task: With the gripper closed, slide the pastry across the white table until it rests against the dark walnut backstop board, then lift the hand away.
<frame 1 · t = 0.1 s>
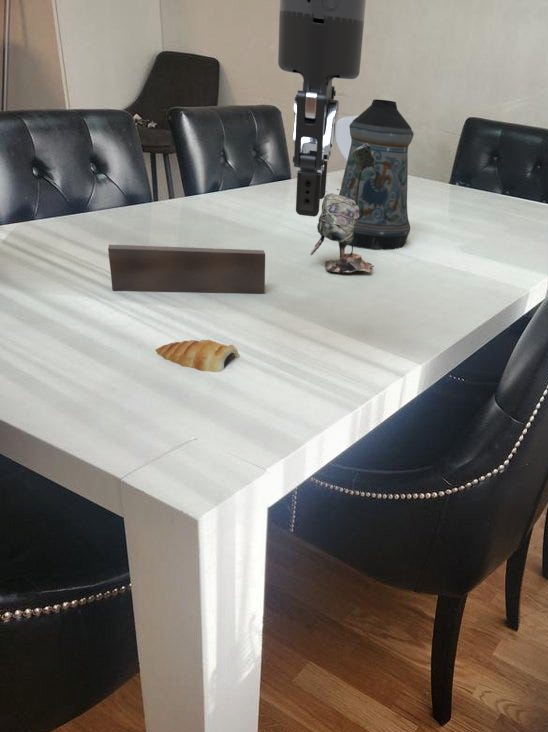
hand: (311, 206, 66), 19 cm above the table, tool pointing down, fingers open, 8 cm apart
bird figurine: (342, 270, 115), on the table
pastry: (200, 374, 74), on the table
backstop: (190, 290, 97), on the table
heart sculpture: (359, 193, 177), on the table
beer stein: (367, 238, 136), on the table
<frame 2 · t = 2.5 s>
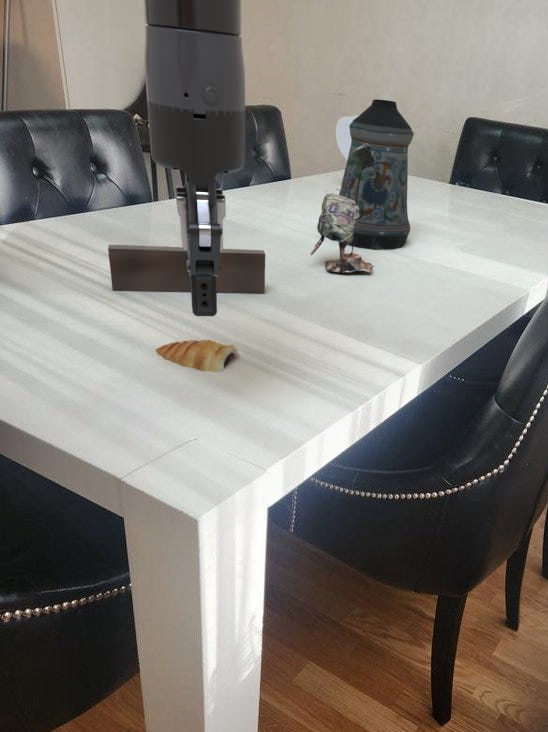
hand: (204, 313, 60), 11 cm above the table, tool pointing down, fingers closed
nothing on the table moved.
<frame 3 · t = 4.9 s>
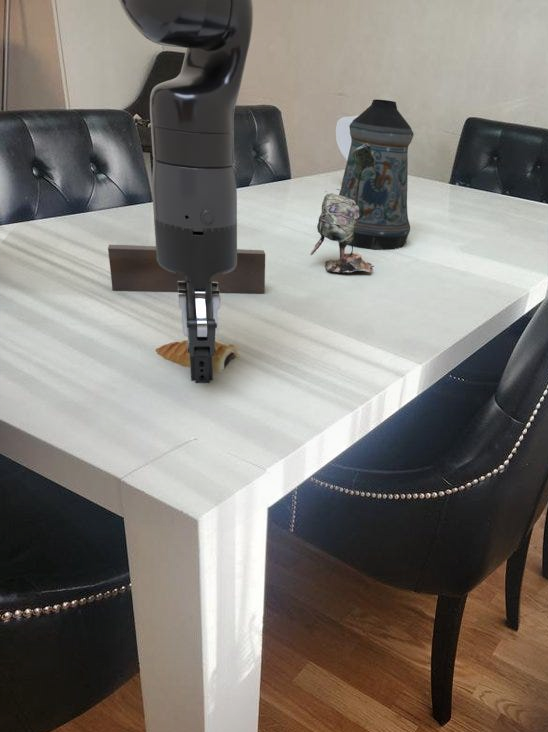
hand: (201, 384, 70), 1 cm above the table, tool pointing down, fingers closed
pastry: (201, 374, 74), on the table, touching gripper
everything else where it was.
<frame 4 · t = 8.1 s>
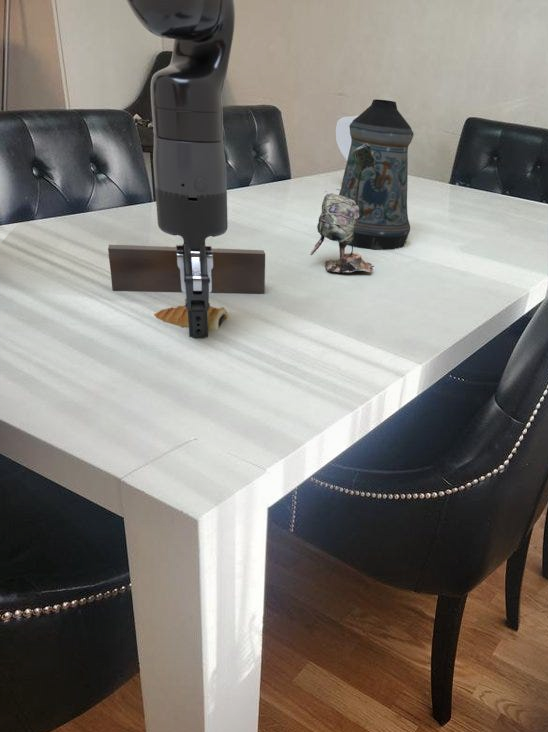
hand: (198, 338, 79), 1 cm above the table, tool pointing down, fingers closed
pastry: (195, 335, 84), on the table, touching gripper
everything else where it was.
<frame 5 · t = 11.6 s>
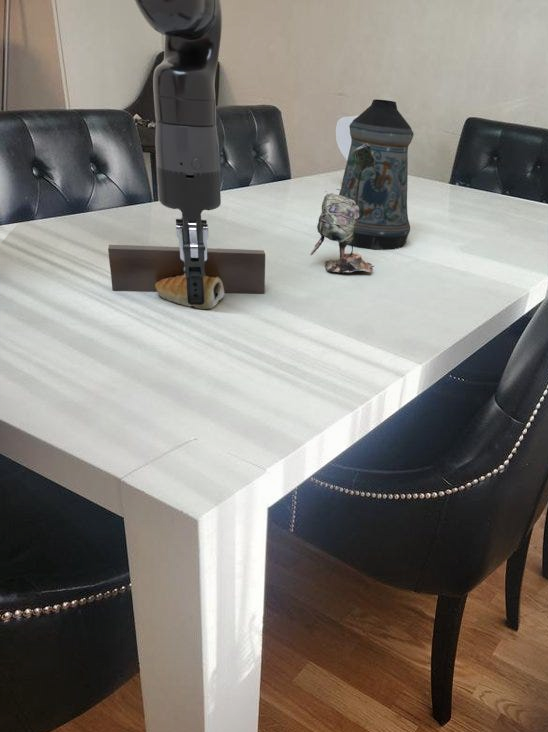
hand: (195, 303, 89), 1 cm above the table, tool pointing down, fingers closed
pastry: (193, 302, 94), on the table, touching backstop, gripper
everything else where it was.
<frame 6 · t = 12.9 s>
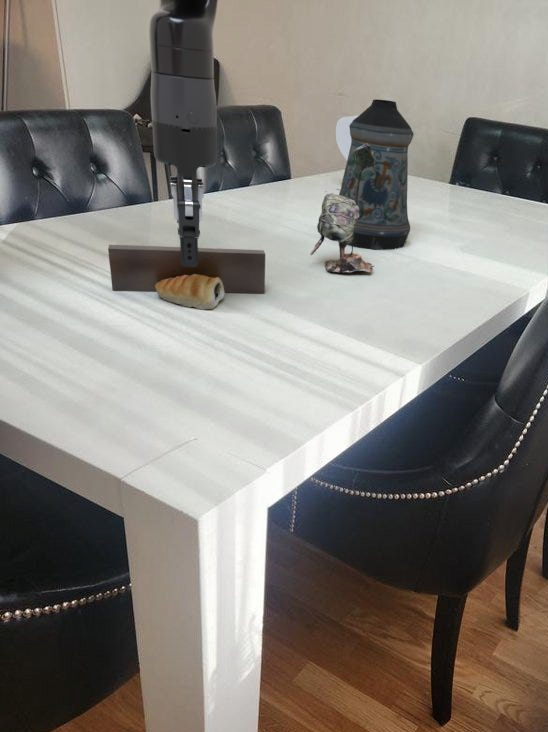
hand: (189, 265, 87), 6 cm above the table, tool pointing down, fingers closed
pastry: (193, 302, 94), on the table
everything else where it was.
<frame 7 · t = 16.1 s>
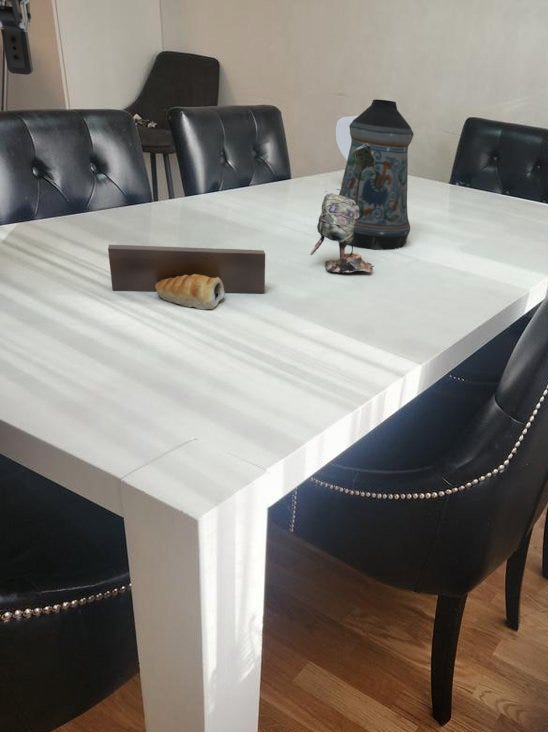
hand: (21, 73, 67), 27 cm above the table, tool pointing down, fingers closed
nothing on the table moved.
at the end: pastry 5.0 cm from the backstop (horizontally); pastry inside the target area on the table beside the backstop (0.8 cm from its centre), on the table; pastry moved 24.2 cm from its start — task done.
